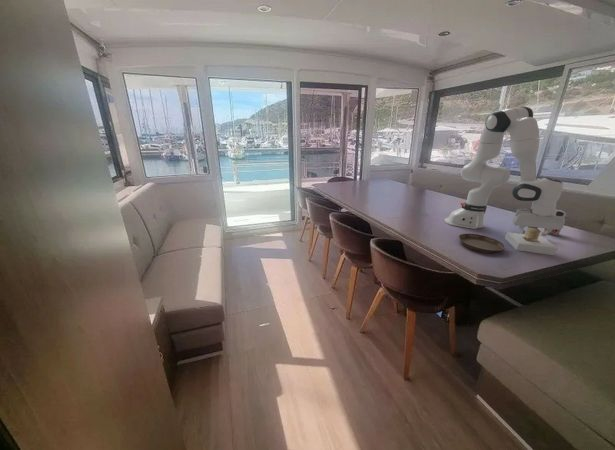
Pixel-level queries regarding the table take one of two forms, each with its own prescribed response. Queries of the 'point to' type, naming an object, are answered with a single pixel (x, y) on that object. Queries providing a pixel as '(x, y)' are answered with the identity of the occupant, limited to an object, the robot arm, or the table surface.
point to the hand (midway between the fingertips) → (532, 234)
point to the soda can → (553, 231)
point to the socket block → (531, 244)
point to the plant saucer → (481, 243)
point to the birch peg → (532, 234)
